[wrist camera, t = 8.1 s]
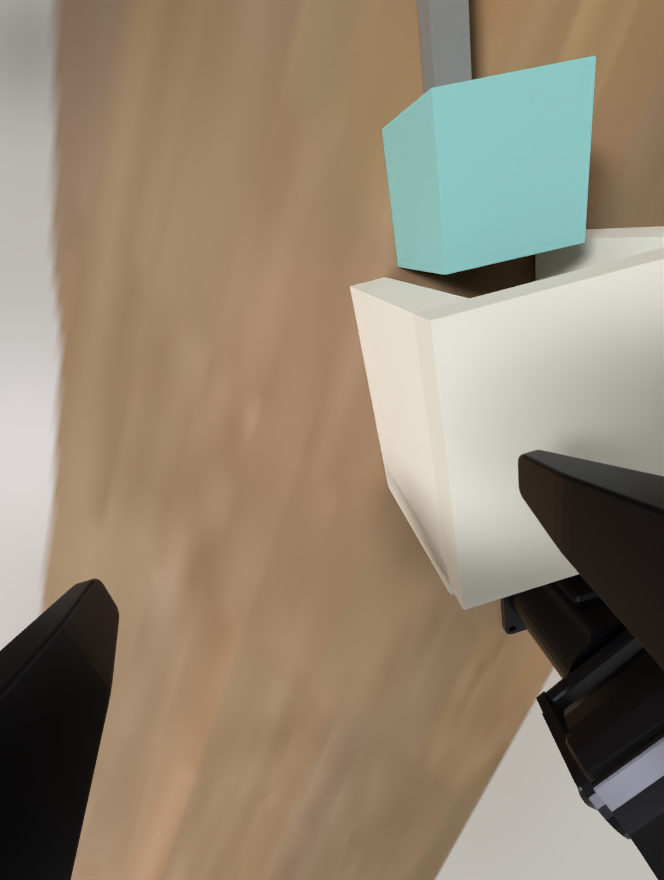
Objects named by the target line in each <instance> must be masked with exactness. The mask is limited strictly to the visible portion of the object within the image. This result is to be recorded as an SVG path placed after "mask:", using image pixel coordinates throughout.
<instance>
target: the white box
mask: <svg viewBox="0 0 664 880" xmlns="http://www.w3.org/2000/svg"><path fill="white" fill-rule="evenodd" d="M535 279H536V281H534V282H530V283H527V284H523V285H519V286H515V287H511V288H508V289H504V290H500V291H496V292H492V293H489V294H485V295H481V296H477V297H473V298H470V299H469V298H465V297H461V296H457V295H453V294H449V293H445V292H442V291H438V290H434V289H430V288H426V287H422V286H418V285H414V284H410V283H406V282H402V281H398V280H394V279H390V278H386V277H384V278H380V279H376V280H372V281H369V282H365V283H361V284H357V285H353V286H350V290H351V295H352V300H353V306H354V311H355V316H356V321H357V326H358V332H359V337H360V342H361V347H362V353H363V358H364V363H365V368H366V373H367V379H368V384H369V389H370V394H371V399H372V405H373V410H374V415H375V420H376V426H377V431H378V436H379V441H380V446H381V452H382V457H383V462H384V467H385V473H386V478H387V483H388V487H389V489H390V491H391V493H392V494H393V496H394V498H395V499H396V501H397V503H398V505H399V506H400V508H401V510H402V512H403V513H404V515H405V517H406V519H407V520H408V522H409V524H410V526H411V527H412V529H413V531H414V533H415V534H416V536H417V538H418V539H419V541H420V543H421V545H422V546H423V548H424V550H425V552H426V553H427V555H428V557H429V559H430V560H431V562H432V564H433V566H434V567H435V569H436V571H437V572H438V574H439V576H440V578H441V579H442V581H443V583H444V585H445V586H446V588H447V590H448V592H449V593H450V595H452V594H455V596H456V598H457V599H458V601H459V603H460V605H461V606H462V608H463V610H466V609H469V608H472V607H475V606H479V605H482V604H485V603H488V602H491V601H495V600H498V599H501V598H504V597H507V596H511V595H514V594H517V593H520V592H523V591H527V590H530V589H533V588H536V587H539V586H543V585H546V584H549V583H552V582H555V581H559V580H562V579H565V578H568V577H571V576H575V575H578V574H579V573H578V572H577V570H576V569H575V568H574V567H573V566H572V565H571V564H570V562H569V561H568V560H567V559H566V558H565V557H564V555H563V554H562V553H561V552H560V550H559V549H558V548H557V546H556V545H555V544H554V542H553V541H552V539H551V538H550V536H549V535H548V534H547V532H546V531H545V529H544V528H543V526H542V525H541V524H540V522H539V521H538V519H537V518H536V516H535V515H534V514H533V512H532V511H531V509H530V508H529V506H528V505H527V504H526V502H525V501H524V499H523V498H522V496H521V494H520V491H519V485H518V458H519V456H520V455H521V454H524V453H527V452H530V451H534V450H543V451H548V452H553V453H557V454H562V455H567V456H571V457H576V458H581V459H585V460H590V461H595V462H599V463H604V464H609V465H613V466H618V467H623V468H627V469H632V470H637V471H641V472H646V473H651V474H655V475H660V476H664V226H663V227H637V228H611V229H586V232H585V243H581V244H576V245H572V246H568V247H563V248H559V249H555V250H550V251H546V252H542V253H537V254H535Z"/></svg>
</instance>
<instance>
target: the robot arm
mask: <svg viewBox="0 0 664 880" xmlns="http://www.w3.org/2000/svg"><path fill="white" fill-rule="evenodd" d="M518 485H519V491H520V494H521V496H522V498H523V499H524V501H525V502H526V504H527V505H528V506H529V508H530V509H531V511H532V512H533V514H534V515H535V516H536V518H537V519H538V521H539V522H540V524H541V525H542V526H543V528H544V529H545V531H546V532H547V534H548V535H549V536H550V538H551V539H552V541H553V542H554V544H555V545H556V546H557V548H558V549H559V550H560V552H561V553H562V554H563V555H564V557H565V558H566V559H567V560H568V561H569V562H570V564H571V565H572V566H573V567H574V568H575V569H576V570H577V572H578V573H579V574H578V575H575V576H571V577H568V578H565V579H562V580H559V581H555V582H552V583H549V584H546V585H543V586H539V587H536V588H533V589H530V590H527V591H523V592H520V593H517V594H514V595H511V596H507V597H504V598H501V611H502V626H503V629H504V630H505V632H506V633H507V634H514V633H517V632H520V631H523V630H526V629H527V630H528V632H529V633H530V634H531V636H532V637H533V639H534V640H535V641H536V643H537V644H538V645H539V647H540V648H541V650H542V651H543V652H544V654H545V655H546V657H547V658H548V659H549V661H550V662H551V663H552V665H553V666H554V668H555V669H556V670H557V672H558V673H559V675H560V676H561V677H562V680H561V681H559V682H558V683H557V684H556V685H554V686H553V687H552V688H551V689H549V690H548V691H547V692H543V693H541V694H540V695H539V696H538V697H536V698H537V701H538V703H539V705H540V707H541V709H542V711H543V713H542V714H543V717H544V719H545V720H546V723H547V725H548V727H549V729H550V731H551V733H552V736H553V738H554V739H555V742H556V744H557V746H558V748H559V750H560V752H561V755H562V757H563V759H564V760H565V763H566V765H567V767H568V769H569V771H570V773H571V776H572V778H573V780H574V782H575V783H576V785H577V788H578V791H579V794H580V796H581V798H582V799H583V801H584V802H585V803H586V804H587V805H588V806H589V807H591V808H594V809H596V810H598V811H599V812H600V813H601V815H602V816H603V817H604V818H605V819H606V821H607V822H608V823H609V824H610V825H611V826H612V827H613V828H614V829H615V830H616V831H618V832H619V833H620V834H621V835H623V836H624V837H626V838H627V839H632V841H633V842H634V844H635V845H636V846H637V848H638V849H639V851H640V852H641V854H642V856H643V857H644V859H645V860H646V862H647V863H648V865H649V866H650V868H651V869H652V871H653V872H654V874H655V876H656V877H657V878H658V880H664V476H660V475H655V474H651V473H646V472H641V471H637V470H632V469H627V468H623V467H618V466H613V465H609V464H604V463H599V462H595V461H590V460H585V459H581V458H576V457H571V456H567V455H562V454H557V453H553V452H548V451H543V450H534V451H530V452H527V453H524V454H521V455H520V456H519V458H518ZM118 624H119V612H118V608H117V606H116V604H115V603H114V601H113V599H112V598H111V596H110V594H109V593H108V591H107V590H106V588H105V586H104V585H103V583H102V582H101V581H100V580H98V579H91V580H88V581H84V582H81V583H77V584H76V585H74V586H73V587H72V588H70V589H69V590H68V591H67V592H66V593H65V594H64V595H63V596H61V597H60V598H59V599H58V600H57V601H56V602H55V603H54V604H52V605H51V606H50V607H49V608H48V609H47V610H46V611H45V612H43V613H42V614H41V615H40V616H39V617H38V618H37V619H36V620H35V621H33V622H32V623H31V624H30V625H29V626H28V627H27V628H26V629H24V630H23V631H22V632H21V633H20V634H19V635H18V636H16V637H15V638H14V639H13V640H12V641H11V642H10V643H9V644H7V645H6V646H5V647H4V648H3V649H2V650H1V651H0V880H71V876H72V871H73V867H74V862H75V857H76V853H77V848H78V843H79V839H80V834H81V830H82V825H83V820H84V816H85V811H86V806H87V802H88V797H89V792H90V788H91V783H92V778H93V774H94V769H95V765H96V760H97V755H98V751H99V746H100V741H101V737H102V732H103V727H104V723H105V718H106V714H107V709H108V704H109V699H110V694H111V687H112V680H113V671H114V661H115V652H116V642H117V633H118Z"/></svg>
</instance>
